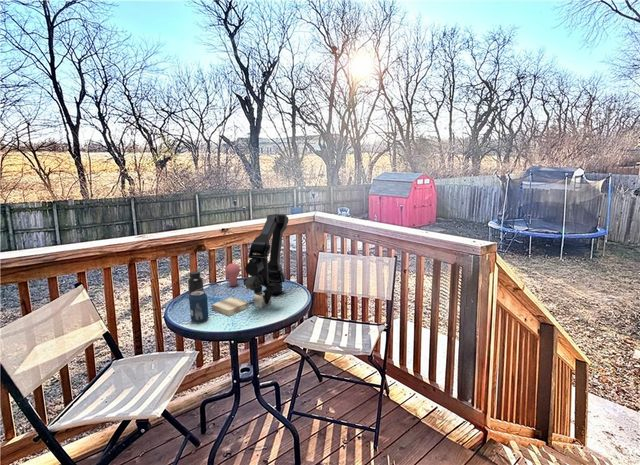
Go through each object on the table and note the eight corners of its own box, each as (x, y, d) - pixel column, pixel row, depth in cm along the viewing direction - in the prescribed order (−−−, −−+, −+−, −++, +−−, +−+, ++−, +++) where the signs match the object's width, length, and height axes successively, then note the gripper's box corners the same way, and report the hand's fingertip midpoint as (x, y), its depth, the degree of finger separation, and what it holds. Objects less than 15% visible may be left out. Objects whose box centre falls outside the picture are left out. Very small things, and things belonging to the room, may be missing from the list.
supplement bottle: (199, 299, 176) (197, 275, 174) (186, 298, 177) (184, 274, 175) (206, 294, 183) (204, 270, 180) (193, 293, 184) (191, 269, 182)
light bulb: (227, 289, 189) (226, 266, 187) (225, 284, 196) (223, 262, 193) (242, 287, 192) (240, 264, 189) (239, 282, 198) (237, 260, 196)
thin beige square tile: (232, 302, 173) (232, 296, 172) (248, 307, 166) (248, 302, 166) (212, 309, 164) (212, 304, 164) (228, 316, 158) (228, 310, 157)
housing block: (264, 302, 172) (263, 289, 171) (271, 304, 169) (271, 291, 168) (254, 306, 167) (254, 293, 166) (261, 308, 165) (261, 296, 163)
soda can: (203, 315, 159) (201, 288, 156) (212, 320, 154) (209, 292, 152) (187, 320, 154) (185, 292, 152) (196, 325, 149) (193, 297, 147)
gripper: (233, 269, 164) (235, 303, 167) (263, 277, 153) (264, 313, 156) (252, 263, 173) (253, 295, 176) (281, 270, 161) (283, 304, 165)
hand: (263, 302), depth 168 cm, fingers closed on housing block, 5 cm apart
